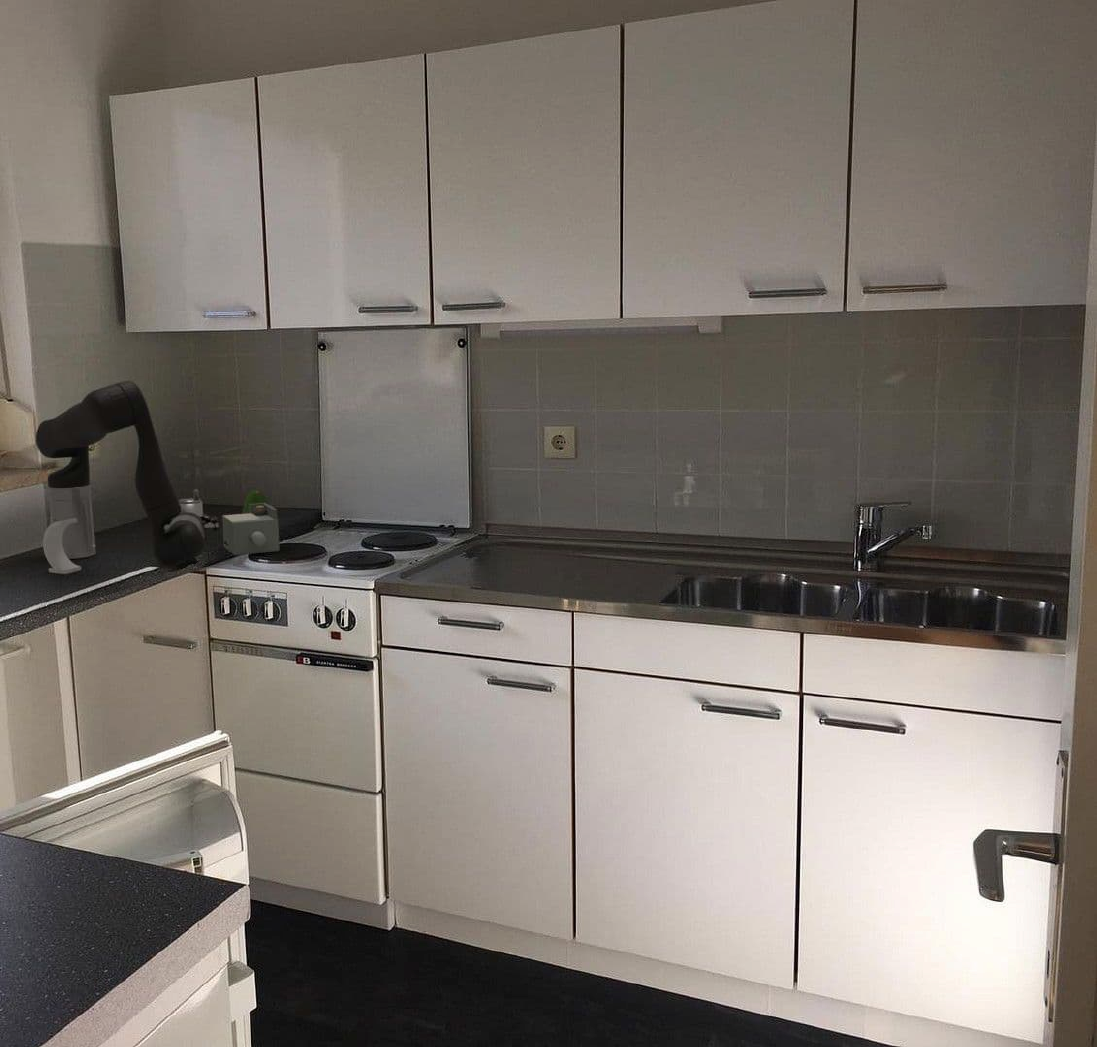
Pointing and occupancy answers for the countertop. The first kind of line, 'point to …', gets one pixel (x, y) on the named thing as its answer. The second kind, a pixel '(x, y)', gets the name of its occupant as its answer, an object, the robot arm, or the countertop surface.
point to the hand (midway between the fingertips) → (191, 518)
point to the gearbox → (252, 530)
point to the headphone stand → (58, 548)
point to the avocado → (254, 500)
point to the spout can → (192, 504)
